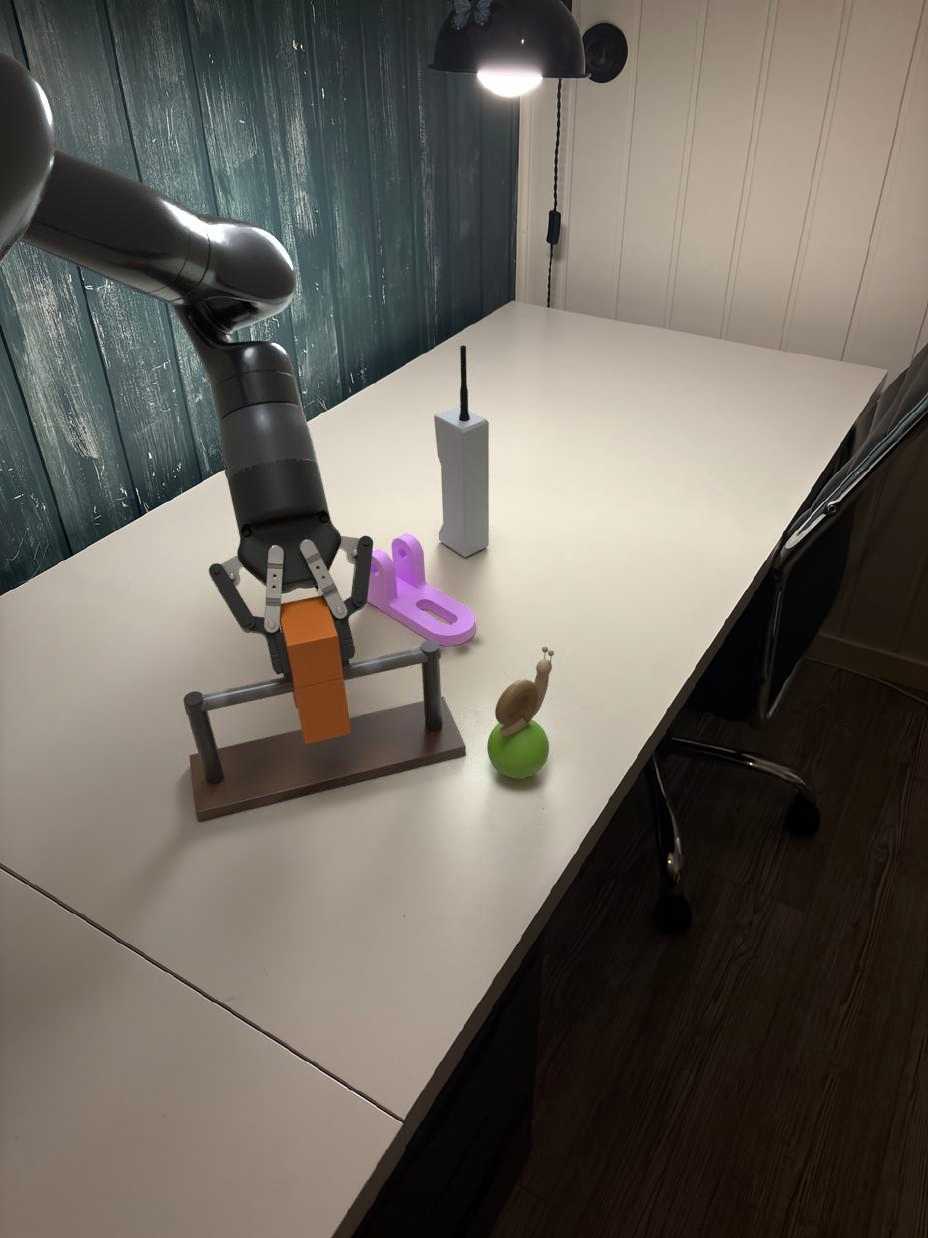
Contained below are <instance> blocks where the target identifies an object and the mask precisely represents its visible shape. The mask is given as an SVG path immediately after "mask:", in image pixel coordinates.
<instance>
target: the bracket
mask: <svg viewBox="0 0 928 1238" xmlns="http://www.w3.org/2000/svg"><path fill="white" fill-rule="evenodd" d="M391 557H392V558H391ZM391 557H390V556H389V554H388V553H387V552H386V551H384V550H383V549H380V548H375V549H373V551H372V560H371V570H370V579H369V589H368V598H367V603H369V604H371V605H372V606H373V607H376V608H377V609H378V610H380V611H382V612H383V613H385V614H386V615H388V616H390V617H391V618H393V619H394V620H396V621H398V622H399V623H401V624H402V625H404V626H405V627H407V628H409V629H410V630H412V631H413V632H415V633H417V634H418V635H420V636H421V637H423V638H425V640H427V641H429V640H431V641H435V642H437V643H438V645H439V646H445V647H453V646H459V645H462V644H465V643H466V642H468V641H470V639H472V638H473V636H474V635H475V633H476V616H475V613H474V611H473V610H472V609H470V607H468V606H466V605H465V604H463V603H461V602H460V601H457V600H456V599H454V598H453V597H451V596H449V595H447V594H445V592H442V591H440V590H439V589H437V588H436V587H433V586H432V585H430V584H428V582H427V580H426V567H425V554H424V548H423V546H422V544H421V543H420V541H419V540H418V539H417V538H416V537H415V535H413V534H411V533H408V532H407V533H403V534H401V535H399V536H397V537H396V538H394V539H392V542H391ZM424 610H429V611H432V612H433V613H434V614H436V615H438V616H439V617H441V618H443V619H445V620H446V621H448V622H450V624H449V623H444V622H442V621H440V620H439V619H437V618H436V617H434V616H433V615H431V614H429V613H428V612H425V611H424Z"/></svg>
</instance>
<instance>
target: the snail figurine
mask: <svg viewBox="0 0 928 1238" xmlns="http://www.w3.org/2000/svg"><path fill="white" fill-rule="evenodd" d="M541 651H542V653H544V655H543V656H544V657H543V659H540V660H539V661H538V662H537V663H536V666H535V670H536V676H535V678H534V681H532V680H530V679H527V678H526V679H525V678H524V679H519V680H516V681H514V682H512V683H511V684H510V685H509V686H507V687H506V688H505V689H504V690H503V692H502V693H501V695H500V696H499V698H498V700H497V703H496V705H495V710H494V716H495V719H496V721H497V724H496V725H495V726H494V727H493V728H492V729H491V732H490V734H489V735H488V739H487V744H486V749H487V756H488V759H489V761H490V763H491V765H492V766H493V767H494V769H496V771H497V772H499V773H500V774H502V775H503V776H505V777H508V778H511V779H516V780H517V779H526V778H530V777H532V776H534V775H536V774H537V773H538V772H539V771H540V770H541V769H542V768H543V767H544V766H545V764H546V762H547V760H548V757H549V754H550V741H549V738H548V735H547V733H546V731H545V730H544V728H543V726H541V725H540V724H539V723H538V722H537V721H536V720H534V719H533V718H534V717H535V716H536V715H537V714H538V712H539V711H540V709H541V708H542V705H543V703H544V700H545V698H546V697H545V696H546V694H547V690H548V686H549V680H550V673H551V671H552V669H553V665H552V657H553V656H555V652H554V650H553V649H549V648H548V647H547V646H546V645H544V646H542V647H541ZM546 653H547V655H548V656H549V657H550V659H546Z"/></svg>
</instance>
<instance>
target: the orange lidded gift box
mask: <svg viewBox="0 0 928 1238" xmlns="http://www.w3.org/2000/svg"><path fill="white" fill-rule="evenodd" d="M280 630H281V632H283V634H284V639H285V644H286V648H287V653H288V658H289V662H290V667H291V671H292V677H293V678H292V679H293V684H294V690H295V692H291V693H292V698H293V702H294V708H295V709H297V711H298V717H299V722H300V728H301V729H302V734H303V739H304V743H305V744H310V743H314V742H318V741H322V740H327V739H331V738H335V737H339V736H344V735H348V734H351V729H350V722H349V718H350V715H349V708H348V700H347V692H346V684H345V680H344V677H343V670H342V662H341V655H340V647H339V640H338V634H337V631H336V628H335V625H334V622H333V619H332V616H331V613H330V610H329V607H328V605H327V603H326V601H325V599H324V597H323V598H322V597H321V596H319V595H316V596H312V597H307V598H301V599H297V600H292V601H286V602H281V609H280Z"/></svg>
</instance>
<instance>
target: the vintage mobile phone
mask: <svg viewBox="0 0 928 1238" xmlns="http://www.w3.org/2000/svg"><path fill="white" fill-rule="evenodd" d="M459 352H460V353H459V355H460V356H459V357H460V388H459V404H458V405H456V406H453V407H450V408H448V409H446V410H443V411H441V412H438V413H434V415H433V421H434V430H435V441H436V443H435V444H436V452H437V457H438V461H439V464H440V475H441V479H440V480H441V501H442V504H441V505H442V525H441V527H440V529H439V532H438V540H439V542H440V543H442V544H443V545H445V546H446V547H448V548H450V549H452V550H453V551H454V552H456V553H457V554H459V555H460V556H462V557H463V558H467V557H470V556H471V555H474V554H476V553H477V552H481V551H482V550H484V549H486V548H488V546H489V545H490V537H489V535H490V534H489V533H490V531H489V530H490V522H489V521H490V518H489V517H490V514H489V513H490V510H489V509H490V503H489V502H490V501H489V499H490V498H489V497H490V494H489V493H490V492H489V491H490V486H489V485H490V484H489V482H490V480H489V479H490V473H489V472H490V469H489V467H490V464H489V463H490V462H489V461H490V459H489V458H490V456H489V455H490V453H489V451H490V449H489V448H490V447H489V445H490V442H489V441H490V440H489V439H490V435H489V434H490V432H489V431H490V430H489V429H490V428H489V427H490V426H489V425H490V422H489V420H487V418H485V417H483V416H481V415H479V414H477V413H475V412H473V411H471V410H469V390H468V386H467V385H468V384H467V382H468V381H467V377H468V375H467V346H466V345H464V344H463V345H460V346H459Z"/></svg>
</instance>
